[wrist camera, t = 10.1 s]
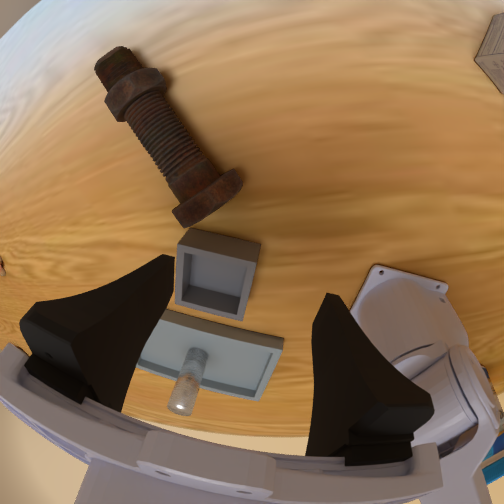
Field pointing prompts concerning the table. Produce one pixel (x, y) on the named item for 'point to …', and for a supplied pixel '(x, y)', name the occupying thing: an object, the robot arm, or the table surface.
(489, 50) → the grey stone block
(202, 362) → the steel pin
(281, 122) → the table surface
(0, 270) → the grandmother figurine
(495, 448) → the beverage bottle
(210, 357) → the tray
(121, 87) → the bolt
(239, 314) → the shallow square open box
